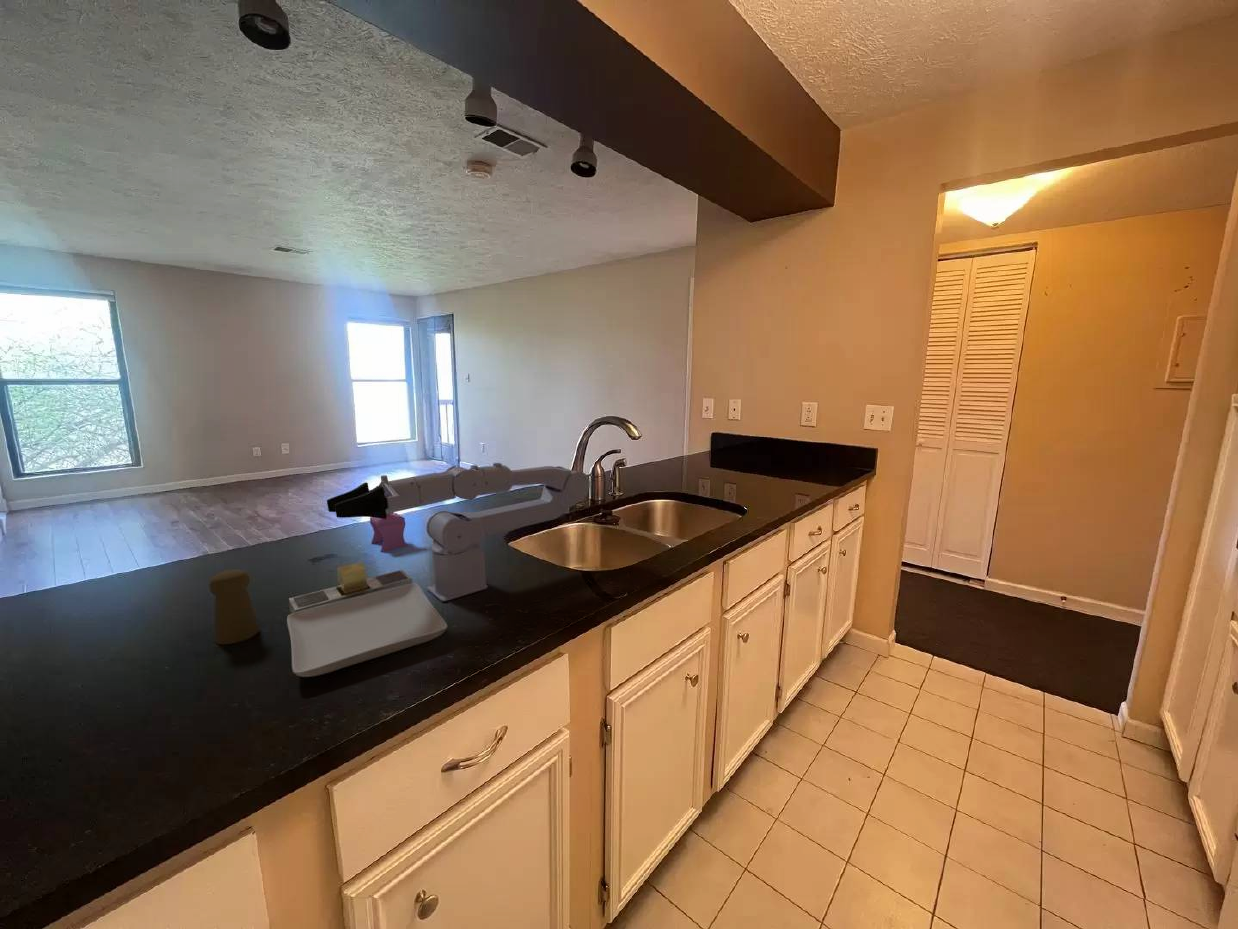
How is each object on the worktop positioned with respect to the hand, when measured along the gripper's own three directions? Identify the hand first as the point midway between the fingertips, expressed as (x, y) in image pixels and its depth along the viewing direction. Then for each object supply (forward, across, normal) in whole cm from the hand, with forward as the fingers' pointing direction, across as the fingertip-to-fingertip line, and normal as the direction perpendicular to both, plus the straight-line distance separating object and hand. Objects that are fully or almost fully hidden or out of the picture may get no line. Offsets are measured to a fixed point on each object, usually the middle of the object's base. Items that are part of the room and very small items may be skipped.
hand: (331, 508), depth 82 cm
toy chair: (-16, -39, +18) cm, 46 cm away
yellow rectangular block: (-2, -10, +20) cm, 23 cm away
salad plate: (-1, +6, +22) cm, 23 cm away
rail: (-2, -10, +20) cm, 22 cm away
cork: (+16, -8, +19) cm, 26 cm away
